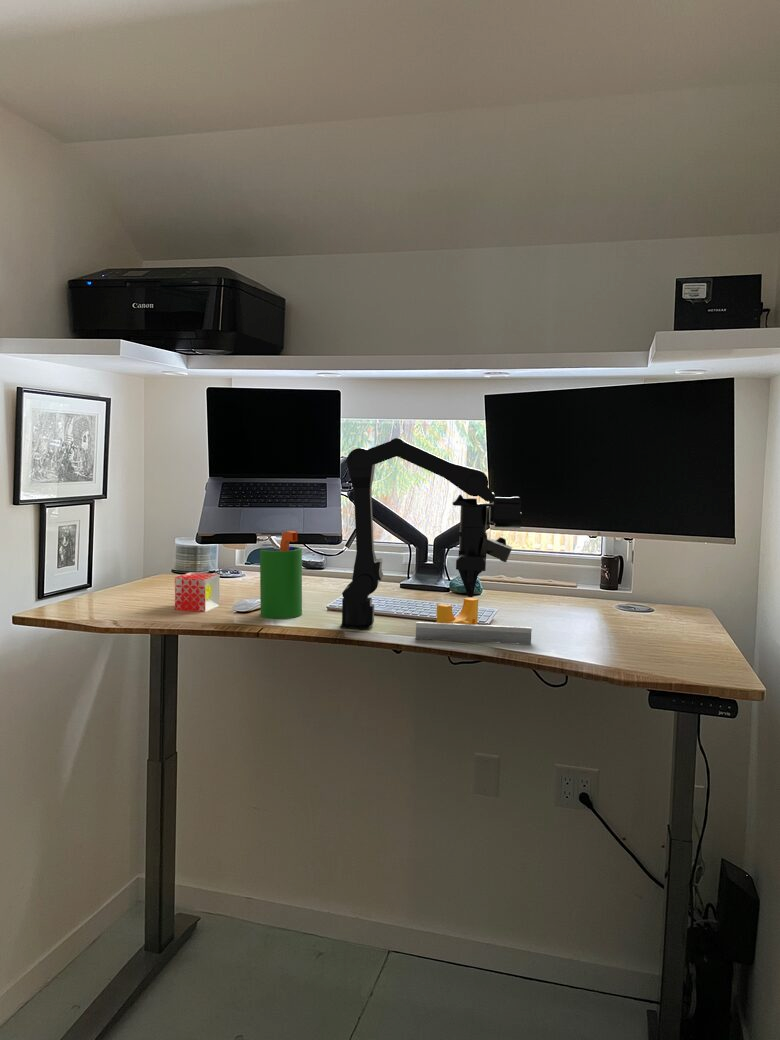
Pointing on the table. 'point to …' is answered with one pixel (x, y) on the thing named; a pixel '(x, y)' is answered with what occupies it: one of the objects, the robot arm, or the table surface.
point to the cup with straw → (281, 580)
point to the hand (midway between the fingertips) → (470, 596)
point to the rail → (473, 632)
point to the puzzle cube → (197, 592)
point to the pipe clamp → (465, 617)
